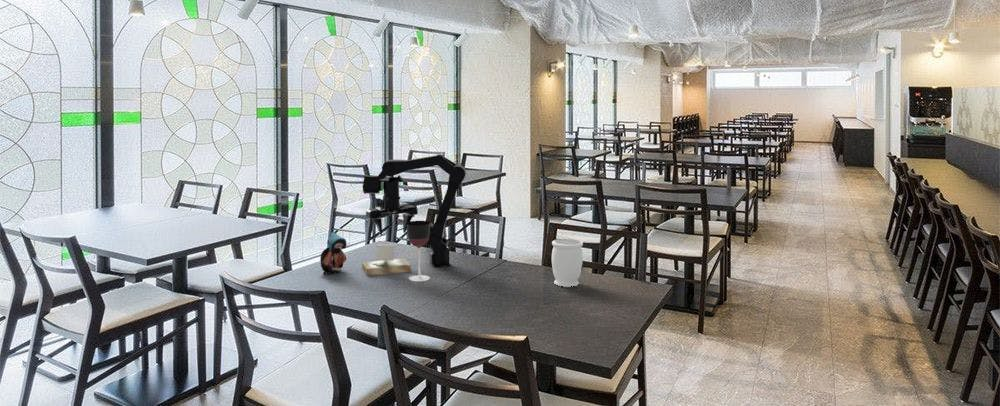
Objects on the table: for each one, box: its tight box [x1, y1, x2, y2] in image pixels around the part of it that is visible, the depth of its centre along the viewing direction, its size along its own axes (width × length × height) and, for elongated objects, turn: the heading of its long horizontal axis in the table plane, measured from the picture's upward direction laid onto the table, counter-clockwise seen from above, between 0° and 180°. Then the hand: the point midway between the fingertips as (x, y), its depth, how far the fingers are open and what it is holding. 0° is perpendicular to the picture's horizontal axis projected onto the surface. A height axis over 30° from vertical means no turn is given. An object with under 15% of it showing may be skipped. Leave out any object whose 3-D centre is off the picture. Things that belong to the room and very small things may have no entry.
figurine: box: [319, 230, 348, 276], centre depth 234 cm, size 10×7×15 cm
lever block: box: [361, 257, 412, 277], centre depth 238 cm, size 16×10×3 cm, turn 112°
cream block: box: [376, 243, 395, 266], centre depth 235 cm, size 6×6×7 cm
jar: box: [551, 238, 584, 288], centre depth 221 cm, size 11×10×15 cm
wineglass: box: [406, 220, 431, 282], centre depth 227 cm, size 8×9×20 cm
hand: (392, 234), depth 244 cm, fingers open, 9 cm apart
